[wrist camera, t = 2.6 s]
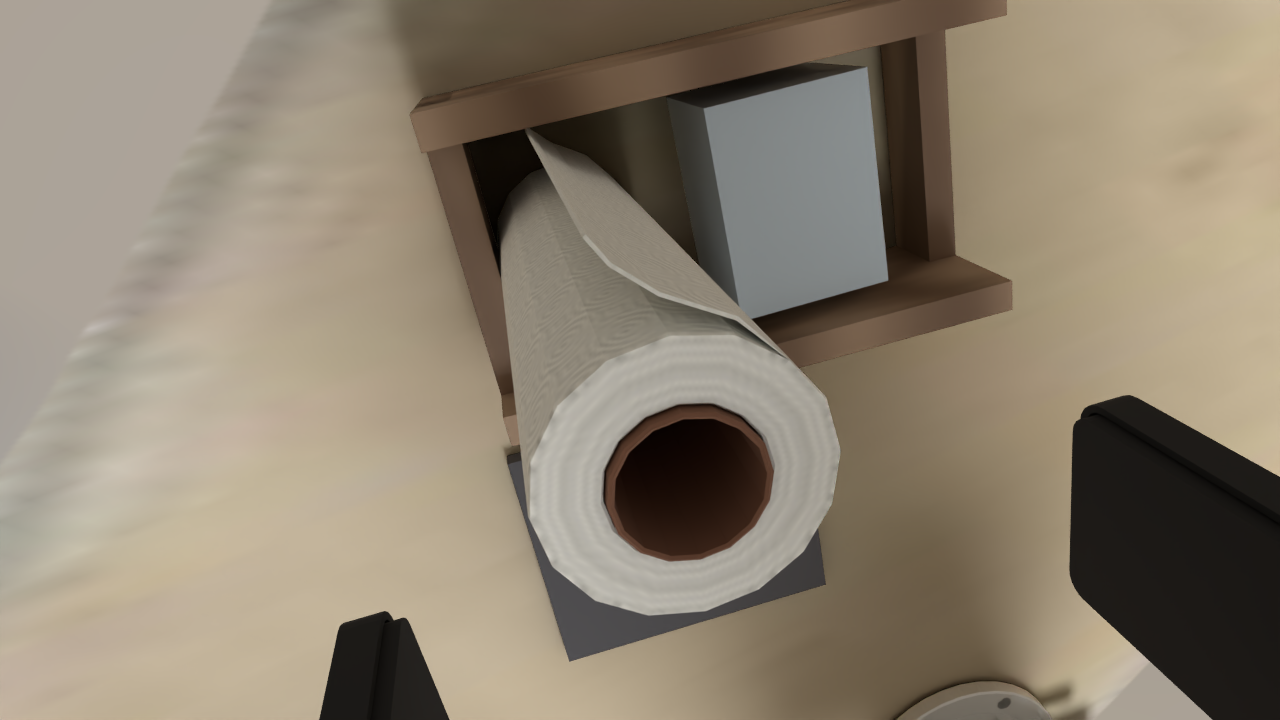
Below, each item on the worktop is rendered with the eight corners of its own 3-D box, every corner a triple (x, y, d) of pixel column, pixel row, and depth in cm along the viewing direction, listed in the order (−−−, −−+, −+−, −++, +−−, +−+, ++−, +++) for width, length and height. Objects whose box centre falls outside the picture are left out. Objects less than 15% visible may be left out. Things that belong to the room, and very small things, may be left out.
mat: (791, 377, 39) (797, 384, 38) (819, 575, 44) (825, 584, 43) (506, 456, 38) (507, 464, 37) (567, 650, 42) (569, 661, 42)
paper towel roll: (619, 313, 36) (790, 636, 17) (483, 286, 35) (496, 610, 15) (661, 151, 34) (915, 308, 14) (517, 115, 32) (584, 237, 13)
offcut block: (803, 62, 34) (867, 67, 28) (826, 244, 37) (888, 280, 32) (665, 97, 33) (703, 108, 28) (701, 278, 36) (741, 321, 31)
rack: (903, -13, 33) (1006, -24, 27) (921, 263, 38) (1012, 309, 32) (422, 98, 31) (409, 114, 25) (504, 373, 36) (511, 446, 30)
